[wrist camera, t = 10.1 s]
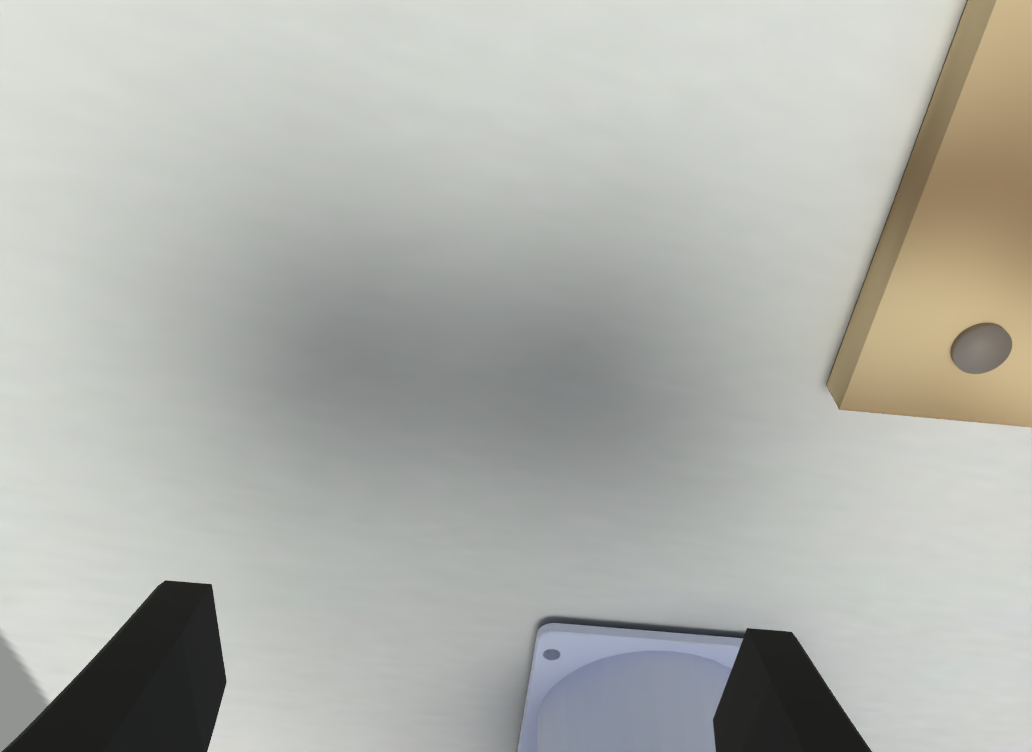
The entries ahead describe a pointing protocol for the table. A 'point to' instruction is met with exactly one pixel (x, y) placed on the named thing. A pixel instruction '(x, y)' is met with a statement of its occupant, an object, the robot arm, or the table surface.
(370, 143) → the table surface
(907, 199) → the hinge leaf
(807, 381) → the table surface
